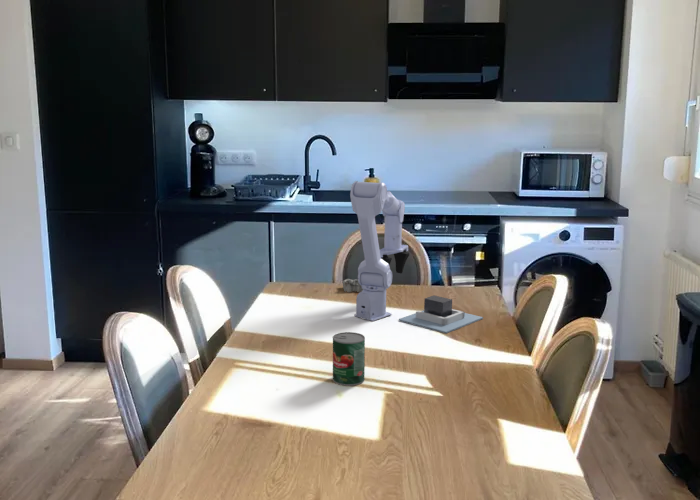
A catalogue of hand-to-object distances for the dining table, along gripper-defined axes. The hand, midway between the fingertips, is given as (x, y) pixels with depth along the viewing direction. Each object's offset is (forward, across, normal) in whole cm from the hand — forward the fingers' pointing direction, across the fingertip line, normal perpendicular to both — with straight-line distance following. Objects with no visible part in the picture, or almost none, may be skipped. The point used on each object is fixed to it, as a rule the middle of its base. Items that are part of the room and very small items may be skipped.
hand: (392, 274), depth 244 cm
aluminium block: (+9, -5, -23) cm, 25 cm away
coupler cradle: (+9, -5, -23) cm, 25 cm away
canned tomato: (+10, -61, -36) cm, 71 cm away
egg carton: (+10, +4, +19) cm, 22 cm away
